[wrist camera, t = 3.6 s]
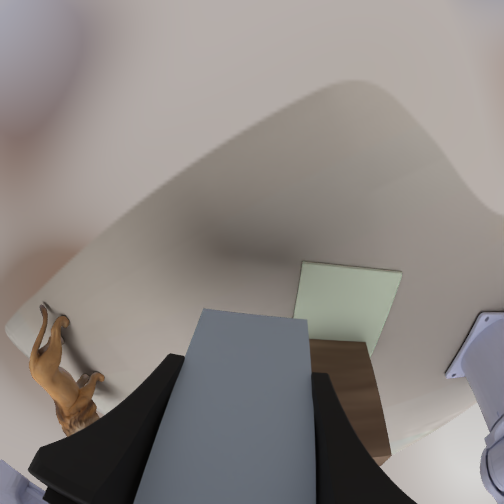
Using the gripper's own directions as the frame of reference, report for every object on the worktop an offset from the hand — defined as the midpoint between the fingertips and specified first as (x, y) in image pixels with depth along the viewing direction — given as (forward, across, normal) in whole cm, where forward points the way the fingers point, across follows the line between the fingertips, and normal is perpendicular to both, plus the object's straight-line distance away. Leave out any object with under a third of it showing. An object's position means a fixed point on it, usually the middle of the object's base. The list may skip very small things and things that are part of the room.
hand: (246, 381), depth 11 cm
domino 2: (+9, -6, +6) cm, 12 cm away
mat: (+9, -6, +13) cm, 17 cm away
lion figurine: (+9, +18, +14) cm, 25 cm away
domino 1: (+3, 0, 0) cm, 4 cm away
